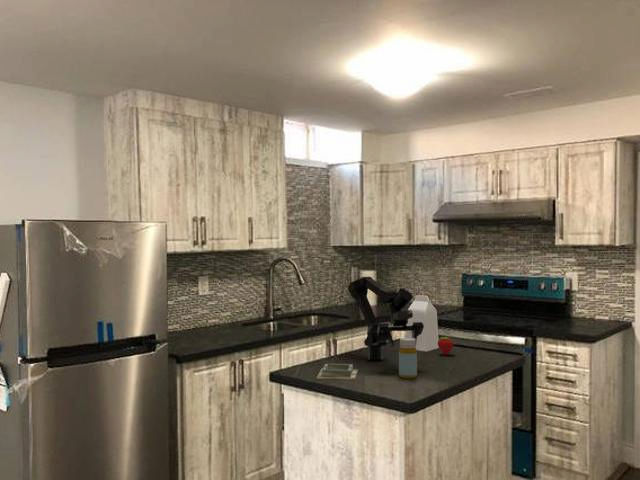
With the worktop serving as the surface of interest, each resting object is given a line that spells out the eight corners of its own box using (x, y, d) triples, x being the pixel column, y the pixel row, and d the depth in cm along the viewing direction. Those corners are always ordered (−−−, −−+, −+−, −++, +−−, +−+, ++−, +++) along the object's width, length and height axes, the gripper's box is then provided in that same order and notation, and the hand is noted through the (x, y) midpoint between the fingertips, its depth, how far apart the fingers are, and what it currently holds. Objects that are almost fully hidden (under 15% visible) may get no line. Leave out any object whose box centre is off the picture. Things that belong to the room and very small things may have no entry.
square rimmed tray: (321, 369, 238) (321, 362, 238) (357, 370, 236) (357, 363, 236) (316, 379, 224) (316, 371, 224) (354, 380, 222) (354, 372, 222)
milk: (405, 348, 282) (405, 295, 282) (418, 344, 291) (418, 293, 291) (426, 351, 274) (426, 297, 274) (439, 347, 283) (438, 295, 282)
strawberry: (450, 357, 261) (450, 335, 261) (435, 355, 265) (435, 334, 265) (455, 355, 266) (455, 333, 266) (440, 353, 270) (440, 332, 270)
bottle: (414, 374, 230) (414, 337, 230) (418, 378, 223) (418, 340, 223) (397, 374, 230) (397, 337, 229) (400, 379, 223) (400, 340, 222)
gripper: (378, 303, 235) (385, 335, 224) (422, 302, 238) (431, 333, 227) (374, 320, 243) (380, 351, 232) (416, 318, 246) (425, 349, 235)
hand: (404, 345), depth 231 cm, fingers open, 9 cm apart
